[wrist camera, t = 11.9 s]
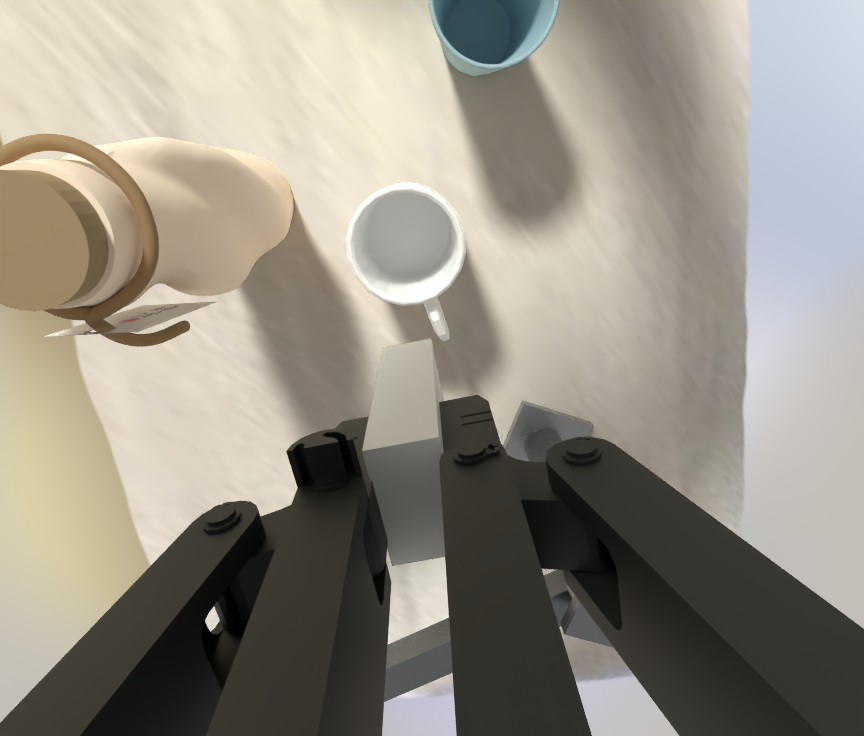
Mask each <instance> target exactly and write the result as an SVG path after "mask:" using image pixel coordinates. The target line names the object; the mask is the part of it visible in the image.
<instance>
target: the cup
mask: <svg viewBox="0 0 864 736" xmlns="http://www.w3.org/2000/svg"><path fill="white" fill-rule="evenodd" d="M558 6H559V0H429V8H430V14H431V18H432V21H433V24H434V27H435V30H436V33H437V35H438V37H439V39H440V42H441V45H442V48H443V51H444V54H445V56H446V58H447V60H448V61H449V62H450V63H451V64H452V65H453V66H454V67H455V68H456V69H457V70H458V71H460V72H462V73H465V74H468V75H471V76H479V75H486V74H490V73H493V72H495V71H498V70H501V69H504V68H507V67H510V66H513V65H515V64H517V63H519V62H521V61H523V60H525V59H526V58H527V57H529V56H530V55H531V54H532V53H534V52H535V51H536V50H537V49H538V48H539V46H540V45H541V44H542V43H543V41H544V40H545V39H546V37H547V35H548V34H549V32H550V30H551V28H552V26H553V23H554V21H555V18H556V15H557V11H558Z"/></svg>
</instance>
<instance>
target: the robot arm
mask: <svg viewBox="0 0 864 736" xmlns="http://www.w3.org/2000/svg"><path fill="white" fill-rule="evenodd" d="M286 452H287V455H288V458H289V461H290V465H291V468H292V471H293V474H294V477H295V480H296V484H297V487H298V489H297V491H296V494H295V497H294V499H293V502H292V505H290V506H288V507H285V508H283V509H281V510H278V511H275V512H272V513H270V514H267V515H264V516H261V517H260V514H259V511H258V508H257V506H256V505H255V504H253V503H252V502H248V501H236V502H227V503H223V504H222V505H221V504H220V505H218V506H215V507H213V508H212V509H211V510H209V511H207V512H206V513H204V514H202V515H201V516H200V517H199V518H197V519H196V520H195V521H194V522H192V524H191V525H190V526H189V527H188V528H187V529H186V530H185V531H184V532H183V533H182V534H181V535H180V536H179V537H178V538H177V539H176V540H175V541H174V542H173V543H172V544H171V545H170V546H169V547H168V549H167V550H166V551H165V552H164V553H163V554H162V555H161V556H160V557H159V558H158V559H157V560H156V561H155V562H154V563H153V564H152V565H151V566H150V567H149V568H148V569H147V570H146V572H145V573H144V574H143V575H142V576H141V577H140V578H139V579H138V580H137V581H136V582H135V583H134V584H133V585H132V586H131V587H130V588H129V589H128V590H127V591H126V592H125V593H124V594H123V596H122V597H121V598H120V599H119V600H118V601H117V602H116V603H115V604H114V605H113V606H112V607H111V608H110V609H109V610H108V611H107V612H106V613H105V614H104V615H103V616H102V617H101V618H100V619H99V620H98V622H97V623H96V624H95V625H94V626H93V627H92V628H91V629H90V630H89V631H88V632H87V633H86V634H85V635H84V636H83V637H82V638H81V639H80V640H79V641H78V642H77V644H75V645H74V647H73V648H72V649H71V650H70V651H69V652H68V653H67V654H66V655H65V656H64V657H63V658H62V659H61V660H60V661H59V662H58V663H57V664H56V665H55V667H54V668H52V669H51V670H50V672H49V673H48V674H47V675H46V676H45V677H44V678H43V679H42V680H41V681H40V682H39V683H38V684H37V685H36V686H35V687H34V688H33V689H32V690H31V691H30V692H29V693H28V695H27V696H26V697H25V698H24V699H23V700H22V701H21V702H20V703H19V704H18V705H17V706H16V707H15V708H14V709H13V710H12V711H11V712H10V713H9V714H8V715H7V716H6V717H5V718H4V720H3V721H2V722H1V723H0V736H382V724H383V708H384V692H385V676H386V659H387V643H388V627H389V611H390V594H391V579H390V575H389V571H388V567H387V564H386V554H387V548H388V552H389V556H390V559H391V563H392V566H394V565H400V564H405V563H411V562H417V561H423V560H428V559H434V558H440V557H445V560H446V576H447V592H448V607H449V623H450V638H451V654H452V669H453V685H454V700H455V716H456V731H457V736H592V735H591V732H590V728H589V725H588V722H587V718H586V715H585V712H584V708H583V705H582V702H581V698H580V695H579V692H578V689H577V685H576V682H575V678H574V675H573V672H572V668H571V665H570V662H569V659H568V655H567V652H566V649H565V645H564V642H563V639H562V635H561V632H560V629H559V625H558V622H557V619H556V615H555V612H554V609H553V605H552V602H551V599H550V595H549V592H548V589H547V585H546V582H545V579H544V576H543V572H542V569H541V568H543V569H558V570H561V573H562V576H563V578H564V580H565V582H566V584H567V585H568V586H569V588H570V589H571V590H572V592H573V593H574V594H575V596H576V597H577V599H578V600H579V601H580V603H581V604H582V605H583V607H584V608H585V609H586V611H587V612H588V613H589V615H590V616H591V617H592V619H593V620H594V621H595V623H596V624H597V625H598V627H599V628H600V629H601V631H602V632H603V634H604V635H605V636H606V638H607V639H608V640H609V642H610V643H611V644H612V646H613V647H614V648H615V650H616V651H617V652H618V654H619V655H620V656H621V658H622V659H623V660H624V662H625V663H626V664H627V666H628V667H629V668H630V670H631V671H632V673H633V674H634V675H635V677H636V678H637V679H638V681H639V682H640V683H641V685H642V686H643V687H644V688H645V690H646V691H647V693H648V694H649V695H650V697H651V698H652V699H653V701H654V702H655V703H656V705H657V706H658V708H659V709H660V710H661V712H662V713H663V714H664V716H665V717H666V718H667V720H668V721H669V722H670V724H671V725H672V726H673V728H674V729H675V730H676V732H677V733H678V734H679V736H864V629H863V628H862V627H860V626H859V625H858V624H856V623H855V622H854V621H852V620H851V619H850V618H848V617H847V616H846V615H844V614H843V613H842V612H840V611H839V610H838V609H836V608H835V607H833V606H832V605H831V604H829V603H828V602H827V601H825V600H824V599H823V598H821V597H820V596H819V595H817V594H816V593H814V592H813V591H812V590H810V589H809V588H808V587H806V586H805V585H804V584H802V583H801V582H800V581H798V580H797V579H795V578H794V577H793V576H792V575H790V574H789V573H788V572H786V571H785V570H784V569H782V568H781V567H779V566H778V565H777V564H775V563H774V562H773V561H771V560H770V559H769V558H767V557H766V556H765V555H763V554H762V553H761V552H759V551H758V550H756V549H755V548H754V547H752V546H751V545H750V544H748V543H747V542H746V541H744V540H743V539H742V538H740V537H739V536H738V535H736V534H735V533H734V532H732V531H731V530H729V529H728V528H727V527H725V526H724V525H723V524H721V523H720V522H719V521H717V520H716V519H715V518H713V517H712V516H711V515H709V514H708V513H707V512H705V511H704V510H702V509H701V508H700V507H698V506H697V505H696V504H694V503H693V502H692V501H690V500H689V499H688V498H686V497H685V496H684V495H682V494H681V493H679V492H678V491H677V490H675V489H674V488H673V487H671V486H670V485H669V484H667V483H666V482H665V481H663V480H662V479H661V478H659V477H658V476H657V475H655V474H654V473H652V472H651V471H650V470H648V469H647V468H646V467H644V466H643V465H642V464H640V463H639V462H638V461H636V460H635V459H634V458H632V457H631V456H630V455H628V454H627V453H625V452H624V451H623V450H621V449H620V448H619V447H617V446H616V445H615V444H613V443H611V442H609V441H607V440H604V439H599V438H594V437H575V438H573V439H568V440H564V441H562V442H559V443H557V444H555V445H554V446H552V447H551V448H550V449H549V450H548V451H547V454H546V462H532V461H523V460H518V459H515V458H513V457H511V456H509V455H508V454H507V453H506V450H505V448H504V447H503V446H502V444H501V443H500V440H499V436H498V433H497V429H496V426H495V423H494V420H493V416H492V413H491V409H490V406H489V402H488V401H487V400H485V399H483V398H482V397H480V396H479V395H475V396H469V397H464V398H459V399H453V400H448V401H444V399H443V394H442V389H441V384H440V379H439V374H438V369H437V364H436V359H435V354H434V349H433V344H432V339H431V338H430V339H425V340H420V341H415V342H409V343H404V344H399V345H394V346H388V347H383V348H382V353H381V358H380V363H379V368H378V373H377V378H376V383H375V388H374V393H373V398H372V403H371V408H370V413H369V417H364V418H359V419H354V420H348V421H343V422H341V423H340V424H339V425H338V426H337V427H336V428H335V429H333V430H324V431H320V432H317V433H313V434H310V435H308V436H306V437H304V438H301V439H300V440H298V441H297V442H295V443H294V444H292V445H291V446H290V448H289V449H288V450H287V451H286ZM213 606H214V607H215V609H216V612H217V614H218V617H219V619H220V621H219V623H218V624H217V626H216V627H215V628H214V629H213V630H212V631H211V632H210V631H209V629H208V627H207V625H206V623H205V619H206V617H207V615H208V613H209V612H210V610H211V609H212V608H213Z"/></svg>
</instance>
